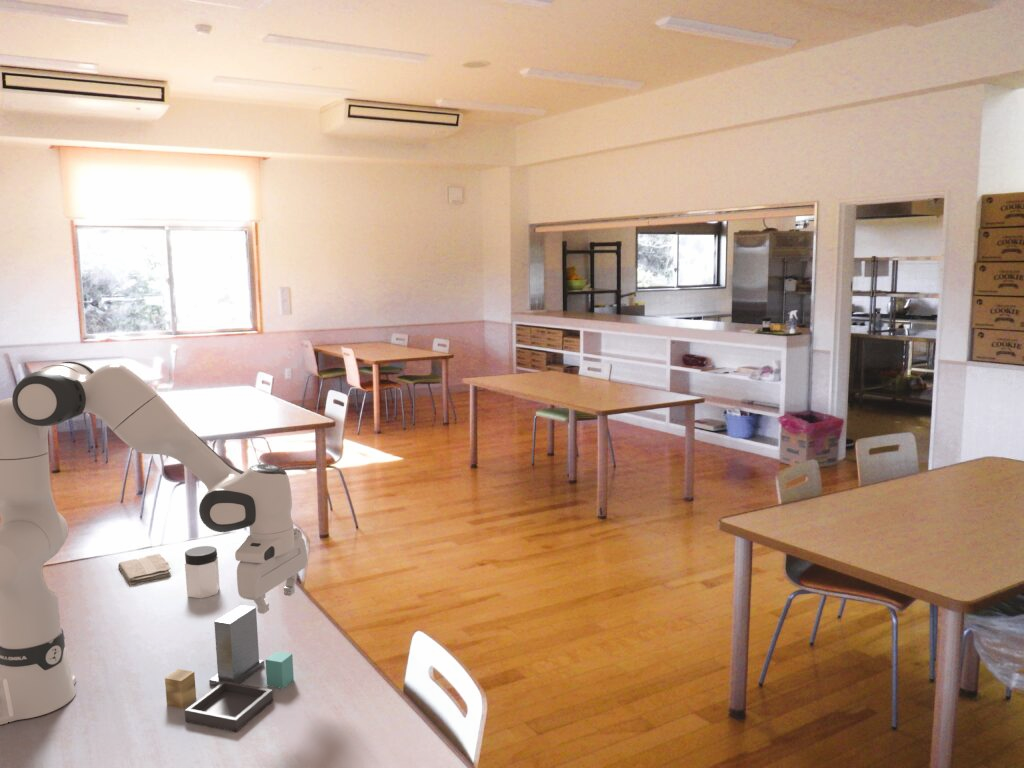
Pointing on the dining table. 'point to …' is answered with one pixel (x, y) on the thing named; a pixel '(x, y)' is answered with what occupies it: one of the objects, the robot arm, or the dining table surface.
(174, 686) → the ochre block
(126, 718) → the dining table surface
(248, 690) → the black tray
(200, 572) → the jar
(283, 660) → the teal block
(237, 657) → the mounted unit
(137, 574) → the washcloth
